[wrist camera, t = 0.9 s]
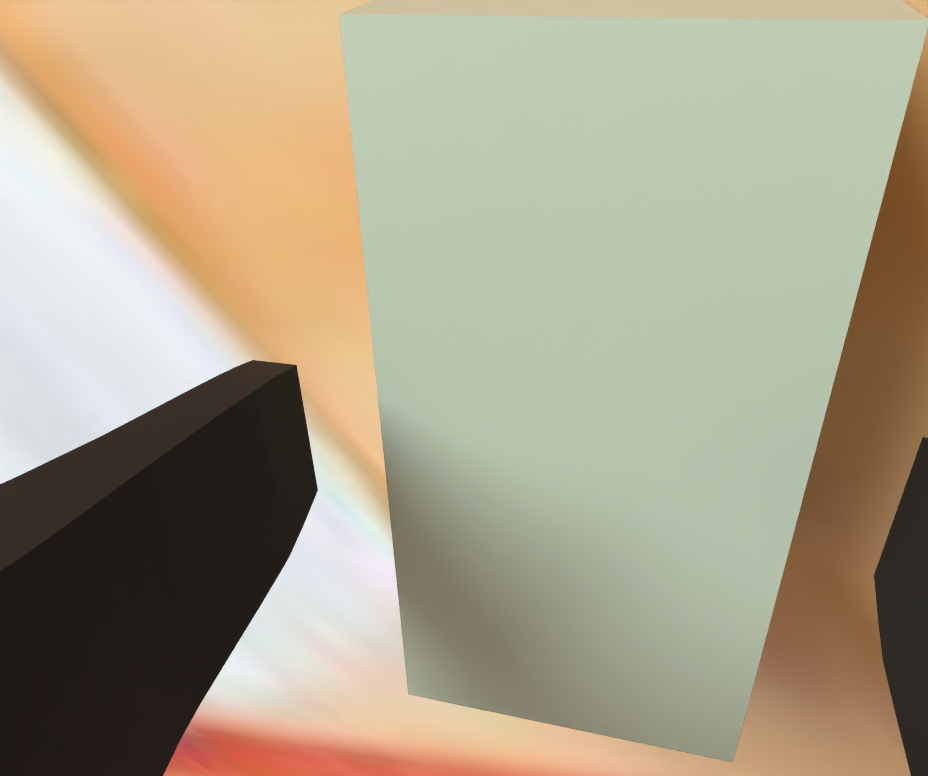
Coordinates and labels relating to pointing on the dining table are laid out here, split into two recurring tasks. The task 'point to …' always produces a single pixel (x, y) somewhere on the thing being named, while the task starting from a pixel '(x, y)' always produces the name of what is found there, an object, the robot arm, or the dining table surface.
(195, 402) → the robot arm
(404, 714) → the dining table surface
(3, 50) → the dining table surface
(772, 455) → the sage green block
